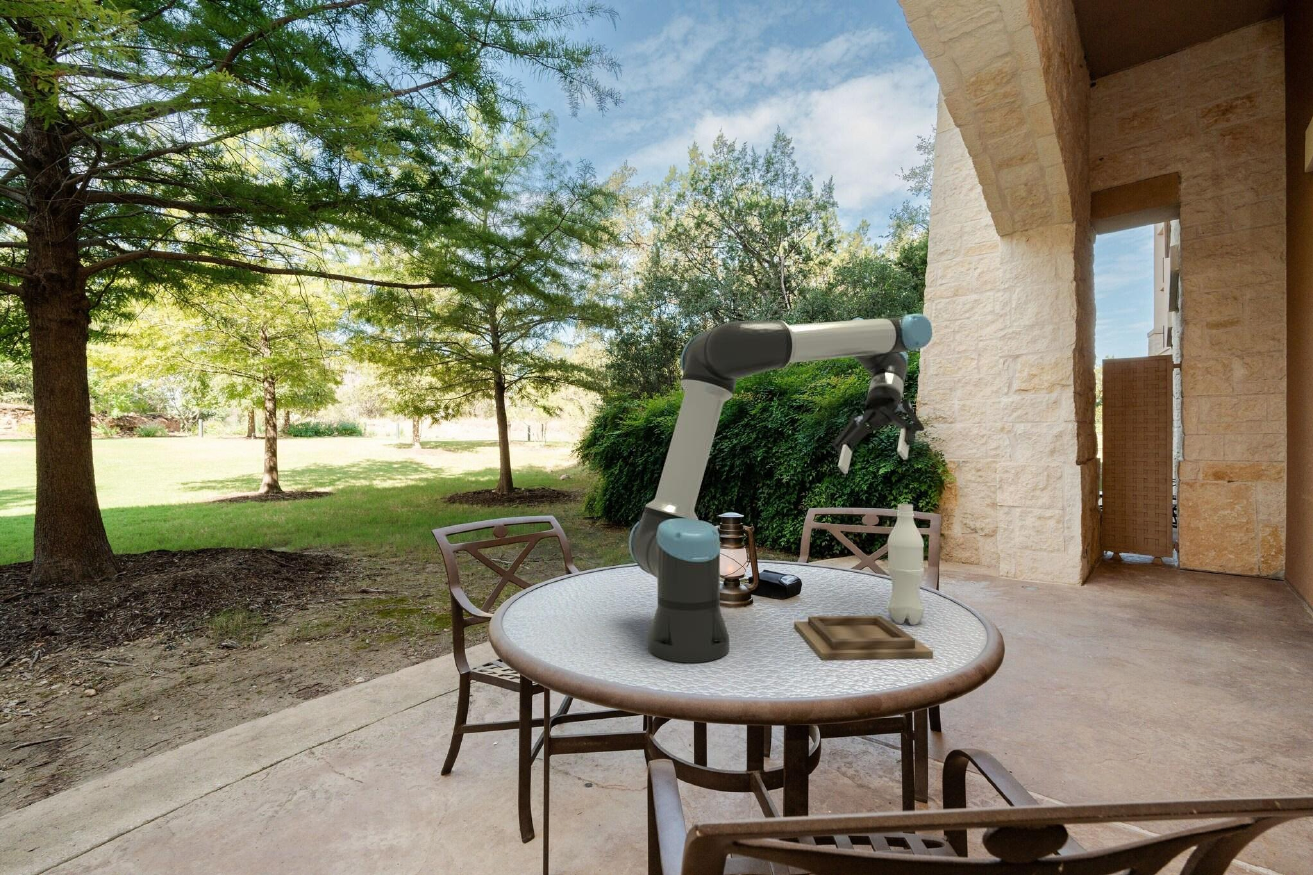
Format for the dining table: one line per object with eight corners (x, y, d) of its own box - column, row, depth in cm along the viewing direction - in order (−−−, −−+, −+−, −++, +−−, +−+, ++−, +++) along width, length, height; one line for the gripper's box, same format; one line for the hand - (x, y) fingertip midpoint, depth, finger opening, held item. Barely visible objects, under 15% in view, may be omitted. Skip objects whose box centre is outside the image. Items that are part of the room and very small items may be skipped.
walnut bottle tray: (822, 660, 104) (822, 644, 104) (794, 627, 122) (794, 614, 122) (932, 658, 104) (932, 642, 104) (888, 626, 122) (888, 613, 122)
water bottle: (888, 624, 123) (888, 505, 123) (886, 615, 130) (886, 502, 130) (926, 628, 121) (925, 507, 121) (922, 618, 128) (921, 503, 128)
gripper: (829, 401, 144) (811, 464, 131) (930, 367, 127) (920, 435, 114) (845, 422, 147) (829, 485, 134) (945, 391, 130) (938, 460, 117)
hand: (871, 462), depth 124 cm, fingers open, 13 cm apart
